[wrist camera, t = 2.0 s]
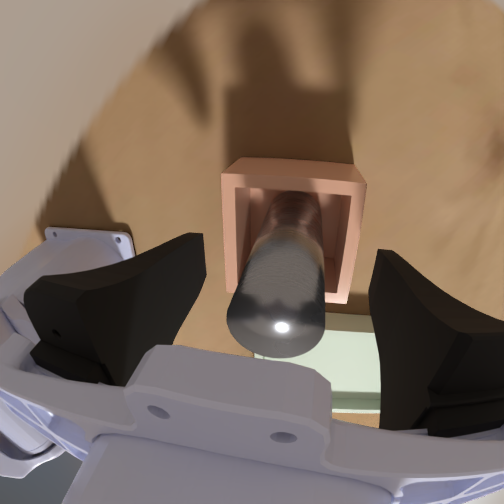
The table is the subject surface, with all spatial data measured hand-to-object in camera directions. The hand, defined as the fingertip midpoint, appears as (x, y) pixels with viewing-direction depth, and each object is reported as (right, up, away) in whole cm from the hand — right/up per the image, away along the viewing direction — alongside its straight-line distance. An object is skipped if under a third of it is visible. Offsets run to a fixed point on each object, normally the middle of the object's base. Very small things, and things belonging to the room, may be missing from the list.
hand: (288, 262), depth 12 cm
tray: (+5, -8, +10) cm, 14 cm away
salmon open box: (+1, +3, +5) cm, 6 cm away
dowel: (+1, +2, +5) cm, 5 cm away
